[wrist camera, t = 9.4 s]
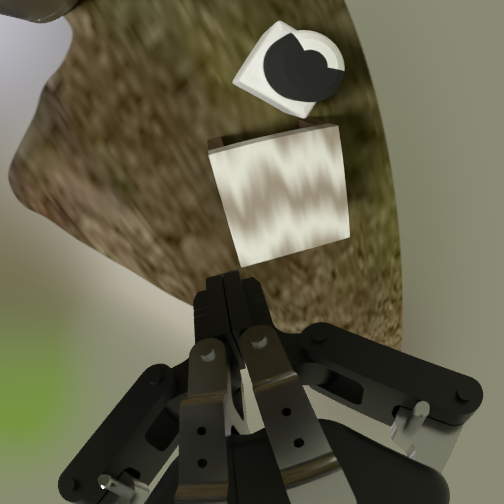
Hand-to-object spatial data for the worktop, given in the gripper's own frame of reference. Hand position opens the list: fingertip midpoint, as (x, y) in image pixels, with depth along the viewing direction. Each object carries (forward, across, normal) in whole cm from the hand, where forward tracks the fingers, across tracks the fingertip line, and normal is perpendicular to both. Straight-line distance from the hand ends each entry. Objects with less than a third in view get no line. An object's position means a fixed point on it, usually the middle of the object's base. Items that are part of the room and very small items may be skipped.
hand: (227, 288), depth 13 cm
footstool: (+19, -1, +4) cm, 19 cm away
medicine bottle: (+23, -10, -8) cm, 27 cm away
